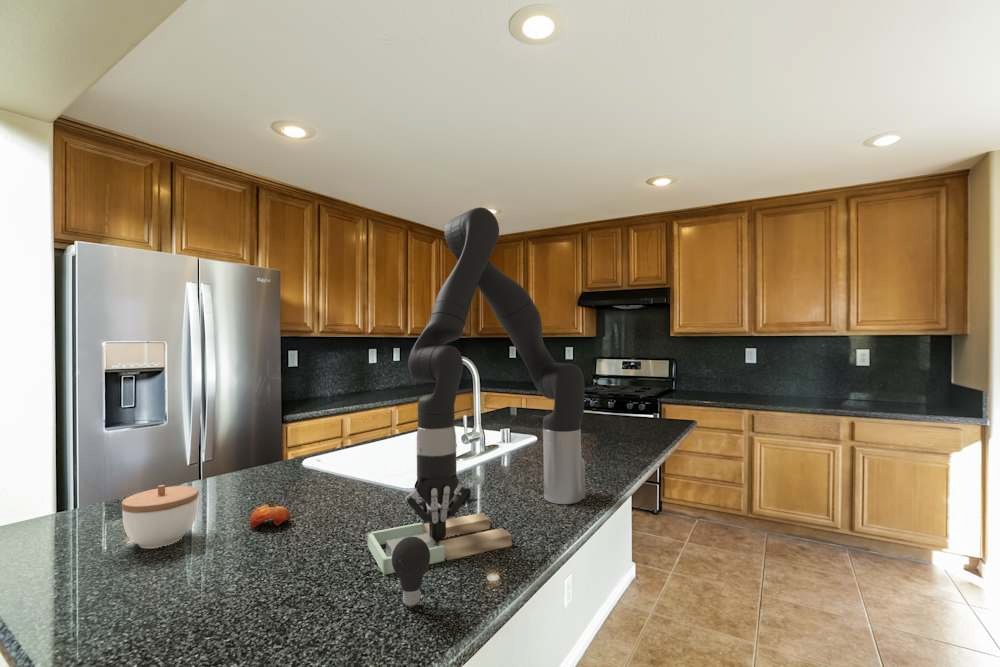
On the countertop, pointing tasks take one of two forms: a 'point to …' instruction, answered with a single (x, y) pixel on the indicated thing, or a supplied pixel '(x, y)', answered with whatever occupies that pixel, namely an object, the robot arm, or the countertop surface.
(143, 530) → the lidded bowl
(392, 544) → the metal chip
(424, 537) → the metal chip
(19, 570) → the countertop surface
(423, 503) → the electric trimmer
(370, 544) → the box
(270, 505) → the tomato
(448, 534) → the slot rails
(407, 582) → the light bulb
